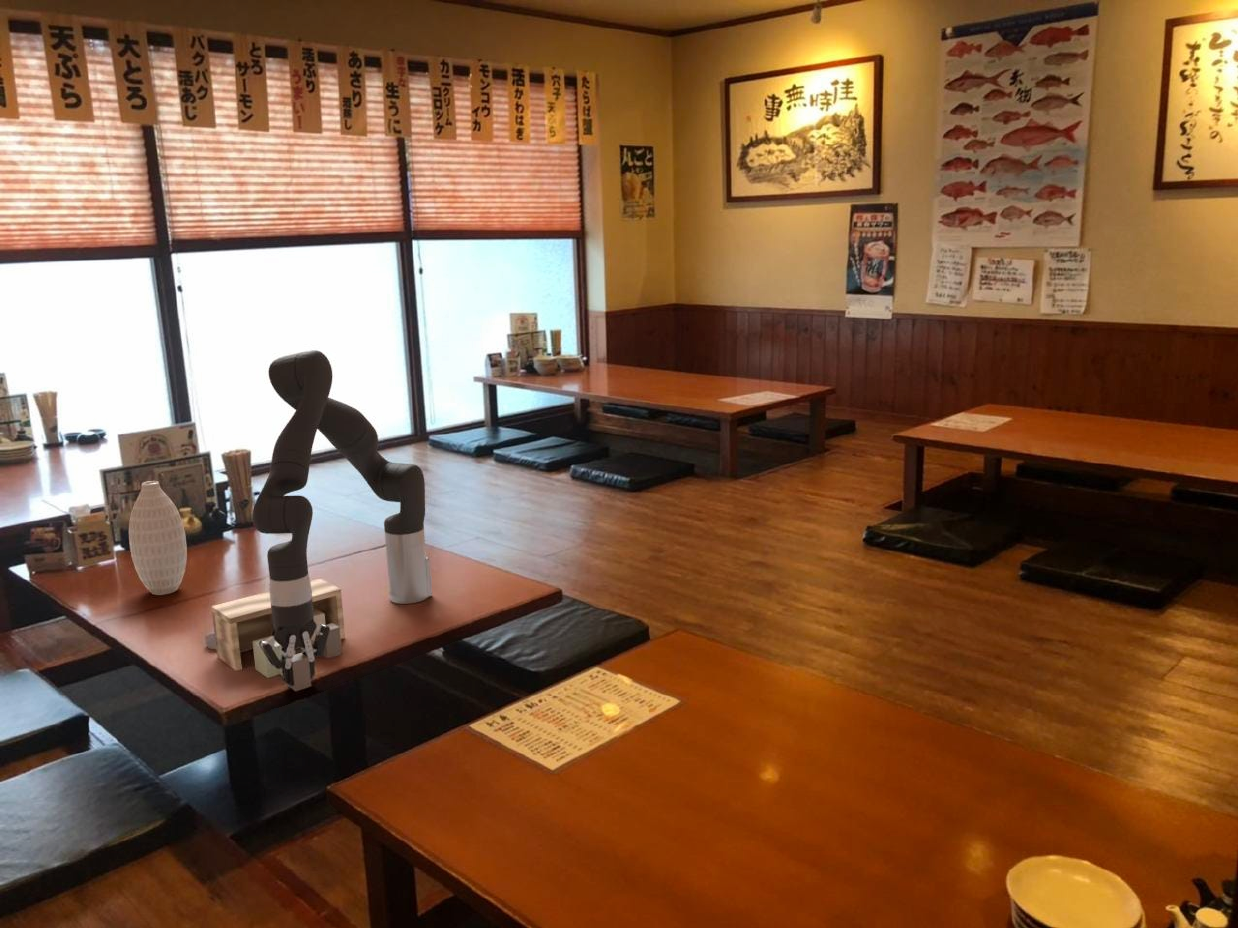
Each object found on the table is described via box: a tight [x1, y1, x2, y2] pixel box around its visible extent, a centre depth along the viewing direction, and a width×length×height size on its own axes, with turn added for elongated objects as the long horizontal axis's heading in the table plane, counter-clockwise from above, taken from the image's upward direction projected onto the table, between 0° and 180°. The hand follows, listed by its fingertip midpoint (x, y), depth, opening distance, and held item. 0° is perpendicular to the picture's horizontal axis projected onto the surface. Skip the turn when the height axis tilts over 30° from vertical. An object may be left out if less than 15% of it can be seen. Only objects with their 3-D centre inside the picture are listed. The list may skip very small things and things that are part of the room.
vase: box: [128, 480, 188, 596], centre depth 245 cm, size 13×13×28 cm
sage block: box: [252, 636, 312, 692], centre depth 195 cm, size 16×6×6 cm, turn 42°
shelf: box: [210, 578, 346, 671], centre depth 210 cm, size 10×24×11 cm, turn 132°
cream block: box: [310, 607, 343, 659], centre depth 210 cm, size 16×6×6 cm, turn 42°
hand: (299, 681), depth 191 cm, fingers closed on sage block, 3 cm apart
